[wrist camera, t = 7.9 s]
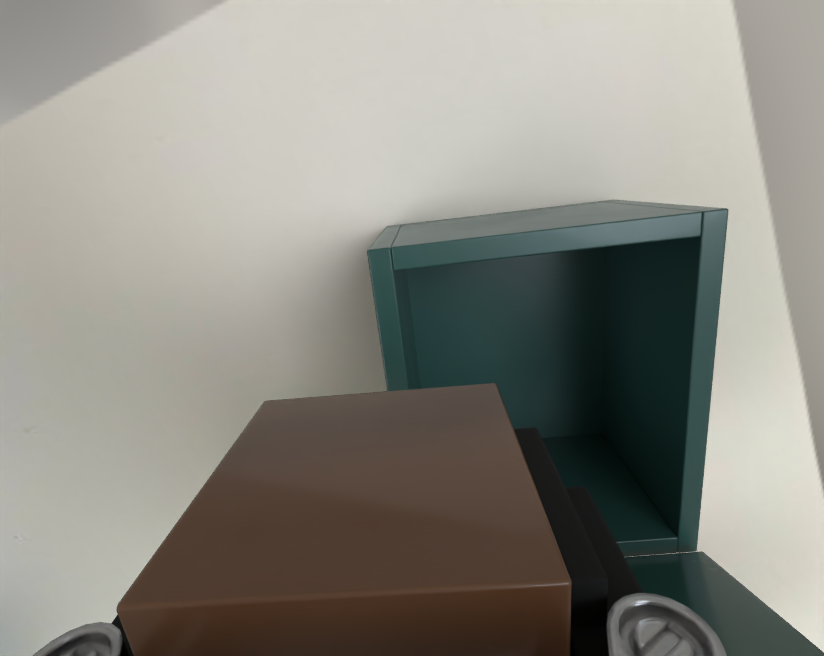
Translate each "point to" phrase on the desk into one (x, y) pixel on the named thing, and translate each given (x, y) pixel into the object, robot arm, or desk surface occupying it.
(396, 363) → the green hollow open box
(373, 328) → the desk surface
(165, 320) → the desk surface
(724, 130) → the desk surface
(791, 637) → the lid
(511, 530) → the block
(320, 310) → the desk surface
